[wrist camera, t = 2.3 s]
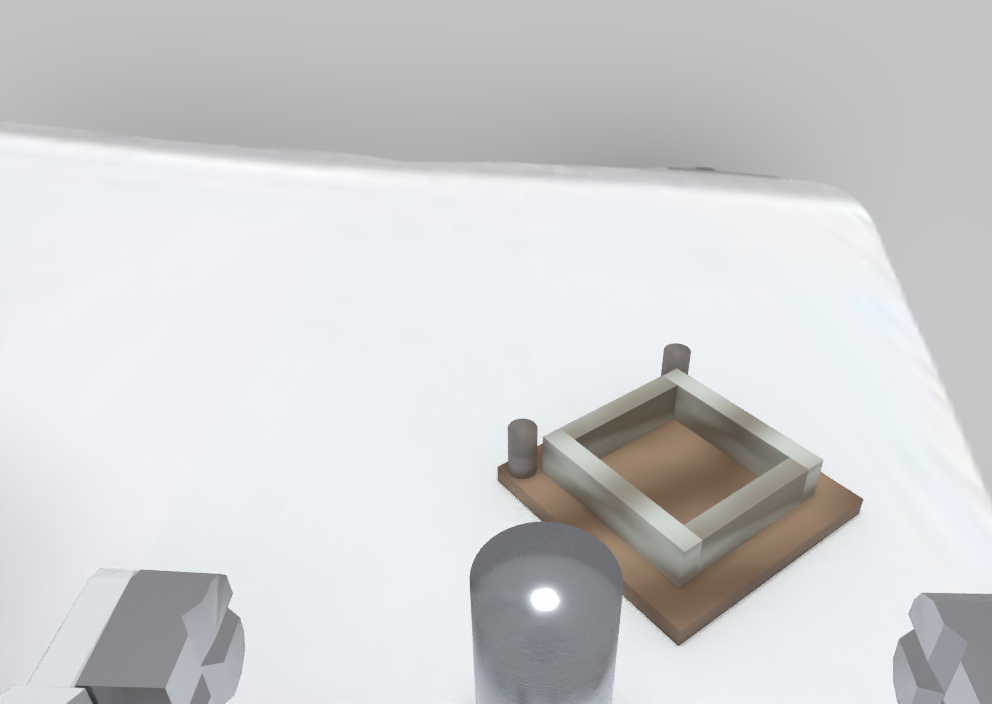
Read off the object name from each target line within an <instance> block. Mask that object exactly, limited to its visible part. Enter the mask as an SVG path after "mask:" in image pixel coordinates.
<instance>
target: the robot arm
mask: <svg viewBox="0 0 992 704" xmlns="http://www.w3.org/2000/svg"><path fill="white" fill-rule="evenodd" d="M232 594H233V593H232V590H231V587H230V584H229V581H228V579H227V576H226V575H222V574H209V573H191V572H173V571H155V570H131V569H108V568H101V569H99V570H98V571H97V572H96V573H95V574H93V575H92V576H91V577H90V578H89V579H88V581H87V582H86V584H85V586H84V587H83V589H82V591H81V593H80V594H79V596H78V598H77V599H76V601H75V603H74V605H73V606H72V608H71V610H70V612H69V613H68V615H67V617H66V618H65V620H64V622H63V624H62V625H61V627H60V629H59V630H58V632H57V634H56V636H55V637H54V639H53V641H52V643H51V644H50V646H49V648H48V649H47V651H46V653H45V655H44V656H43V658H42V660H41V661H40V663H39V665H38V667H37V668H36V670H35V672H34V673H33V675H32V677H31V679H30V680H29V682H28V684H27V685H14V686H13V687H11V688H10V689H8V690H7V691H6V692H4V693H3V694H2V695H0V704H225V703H226V702H227V701H228V700H229V699H231V698H232V697H233V696H234V694H235V691H236V688H237V685H238V682H239V679H240V676H241V673H242V666H243V659H244V652H245V642H244V630H243V627H242V623H241V619H240V617H239V616H237V615H236V614H235V613H234V612H232V611H231V610H230V609H228V608H227V607H228V605H229V602H230V599H231V597H232ZM909 616H910V619H911V621H912V624H913V627H914V629H913V630H912V631H910V632H909V633H907V634H906V635H904V636H903V637H901V638H900V639H899V641H898V645H897V648H896V651H895V654H894V657H893V682H894V687H895V693H896V698H897V702H898V704H992V594H955V593H921V594H920V595H919V596H918V597H917V598H915V599H914V601H913V604H912V606H911V609H910V611H909Z"/></svg>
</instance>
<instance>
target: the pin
mask: <svg viewBox="0 0 992 704" xmlns="http://www.w3.org/2000/svg"><path fill="white" fill-rule="evenodd" d="M622 593H623V576H622V571H621V568H620V566H619V563H618V561H617V559H616V558H615V556H614V554H613V553H612V552H611V551H610V549H609V548H608V547H607V546H606V545H605V544H604V543H603V542H601V541H600V540H599V539H598V538H596V537H595V536H593V535H592V534H590V533H588V532H586V531H584V530H582V529H580V528H577V527H574V526H571V525H567V524H563V523H556V522H532V523H525V524H521V525H517V526H514V527H512V528H509V529H507V530H505V531H503V532H501V533H499V534H497V535H496V536H494V537H493V538H492V539H490V540H489V541H488V542H487V543H486V544H485V545H484V546H483V547H482V548H481V550H480V551H479V552H478V554H477V555H476V557H475V559H474V561H473V564H472V567H471V572H470V596H471V615H472V635H473V655H474V674H475V694H476V704H611V702H612V692H613V683H614V673H615V663H616V653H617V643H618V633H619V623H620V613H621V603H622Z"/></svg>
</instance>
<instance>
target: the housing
mask: <svg viewBox="0 0 992 704" xmlns="http://www.w3.org/2000/svg"><path fill="white" fill-rule="evenodd" d="M690 354H691V351H690V349H689V348H688V347H687V346H685V345H682V344H669V345H667V346H666V347H665V348H664V355H663V363H662V372H661V377H659V378H657V379H655V380H653V381H651V382H649V383H647V384H645V385H643V386H641V387H640V388H638V389H636V390H634V391H632V392H630V393H628V394H626V395H624V396H622V397H620V398H618V399H616V400H614V401H612V402H610V403H608V404H606V405H604V406H602V407H601V408H599V409H597V410H595V411H593V412H591V413H589V414H587V415H585V416H583V417H581V418H579V419H577V420H575V421H573V422H571V423H569V424H567V425H565V426H563V427H562V428H560V429H558V430H556V431H554V432H552V433H550V434H548V435H546V436H544V437H543V444H541V445H539V446H537V425H536V424H535V423H534V422H533V421H531V420H528V419H517V420H514V421H512V422H511V423H510V424H509V426H508V462H506V463H505V464H503V465H501V466H499V467H498V481H500V482H501V483H502V484H503V485H504V486H505V487H506V488H507V489H508V490H509V491H510V492H512V493H513V494H514V495H515V496H516V497H517V498H518V499H519V500H520V501H521V502H522V503H524V504H525V505H526V506H527V507H528V508H529V509H530V510H531V511H532V512H533V513H534V514H536V515H537V516H538V517H539V518H540V519H541V520H542V521H543V522H556V523H563V524H567V525H571V526H574V527H577V528H580V529H582V530H584V531H586V532H588V533H590V534H592V535H593V536H595V537H596V538H598V539H599V540H600V541H601V542H603V543H604V544H605V545H606V546H607V547H608V548H609V549H610V551H611V552H612V553H613V554H614V556H615V558H616V559H617V561H618V563H619V566H620V568H621V571H622V576H623V593H622V594H623V595H624V596H625V597H626V598H627V599H628V600H629V601H631V602H632V603H633V604H634V605H635V606H636V607H637V608H638V609H639V610H640V611H641V612H643V613H644V614H645V615H646V616H647V617H648V618H649V619H650V620H651V621H652V622H653V623H655V624H656V625H657V626H658V627H659V628H660V629H661V630H662V631H663V632H664V633H665V634H667V635H668V636H669V637H670V638H671V639H672V640H673V641H674V642H675V643H676V644H677V645H680V644H681V643H682V642H684V641H685V640H686V639H688V638H689V637H690V636H692V635H693V634H695V633H696V632H697V631H699V630H700V629H701V628H703V627H704V626H705V625H707V624H708V623H709V622H711V621H712V620H714V619H715V618H716V617H718V616H719V615H720V614H722V613H723V612H724V611H726V610H727V609H729V608H730V607H731V606H733V605H734V604H735V603H737V602H738V601H739V600H741V599H742V598H743V597H745V596H746V595H748V594H749V593H750V592H752V591H753V590H754V589H756V588H757V587H758V586H760V585H761V584H763V583H764V582H765V581H767V580H768V579H769V578H771V577H772V576H773V575H775V574H776V573H777V572H779V571H780V570H782V569H783V568H784V567H786V566H787V565H788V564H790V563H791V562H792V561H794V560H795V559H797V558H798V557H799V556H801V555H802V554H803V553H805V552H806V551H807V550H809V549H810V548H812V547H813V546H814V545H816V544H817V543H818V542H820V541H821V540H822V539H824V538H825V537H826V536H828V535H829V534H831V533H832V532H833V531H835V530H836V529H837V528H839V527H840V526H841V525H843V524H844V523H846V522H847V521H848V520H850V519H851V518H852V517H854V516H855V515H856V514H858V513H859V511H860V508H861V505H862V502H863V499H862V498H861V497H859V496H858V495H856V494H854V493H853V492H851V491H850V490H848V489H847V488H845V487H843V486H842V485H840V484H839V483H837V482H836V481H834V480H832V479H831V478H829V477H828V476H826V475H825V474H823V473H822V472H820V471H821V467H822V463H823V460H822V459H821V458H819V457H818V456H816V455H814V454H813V453H811V452H810V451H808V450H806V449H805V448H803V447H802V446H800V445H798V444H797V443H795V442H794V441H792V440H790V439H789V438H787V437H786V436H784V435H783V434H781V433H779V432H778V431H776V430H775V429H773V428H771V427H770V426H768V425H767V424H765V423H763V422H762V421H760V420H759V419H757V418H755V417H754V416H752V415H751V414H749V413H747V412H746V411H744V410H743V409H741V408H739V407H738V406H736V405H735V404H733V403H731V402H730V401H728V400H727V399H725V398H724V397H722V396H720V395H719V394H717V393H716V392H714V391H712V390H711V389H709V388H708V387H706V386H704V385H703V384H701V383H700V382H698V381H696V380H695V379H693V378H692V377H690V376H688V368H689V361H690Z"/></svg>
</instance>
